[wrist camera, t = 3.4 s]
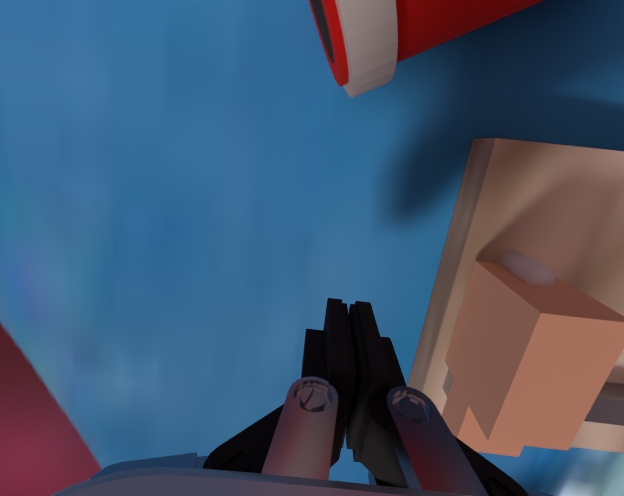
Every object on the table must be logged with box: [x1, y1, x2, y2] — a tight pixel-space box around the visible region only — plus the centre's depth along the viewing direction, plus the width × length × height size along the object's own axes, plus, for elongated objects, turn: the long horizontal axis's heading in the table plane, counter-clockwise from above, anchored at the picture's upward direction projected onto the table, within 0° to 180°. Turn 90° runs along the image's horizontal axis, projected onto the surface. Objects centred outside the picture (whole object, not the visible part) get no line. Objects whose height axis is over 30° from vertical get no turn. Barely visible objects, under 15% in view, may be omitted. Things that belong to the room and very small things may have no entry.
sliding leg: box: [441, 251, 624, 457], centre depth 13 cm, size 3×9×4 cm, turn 174°
